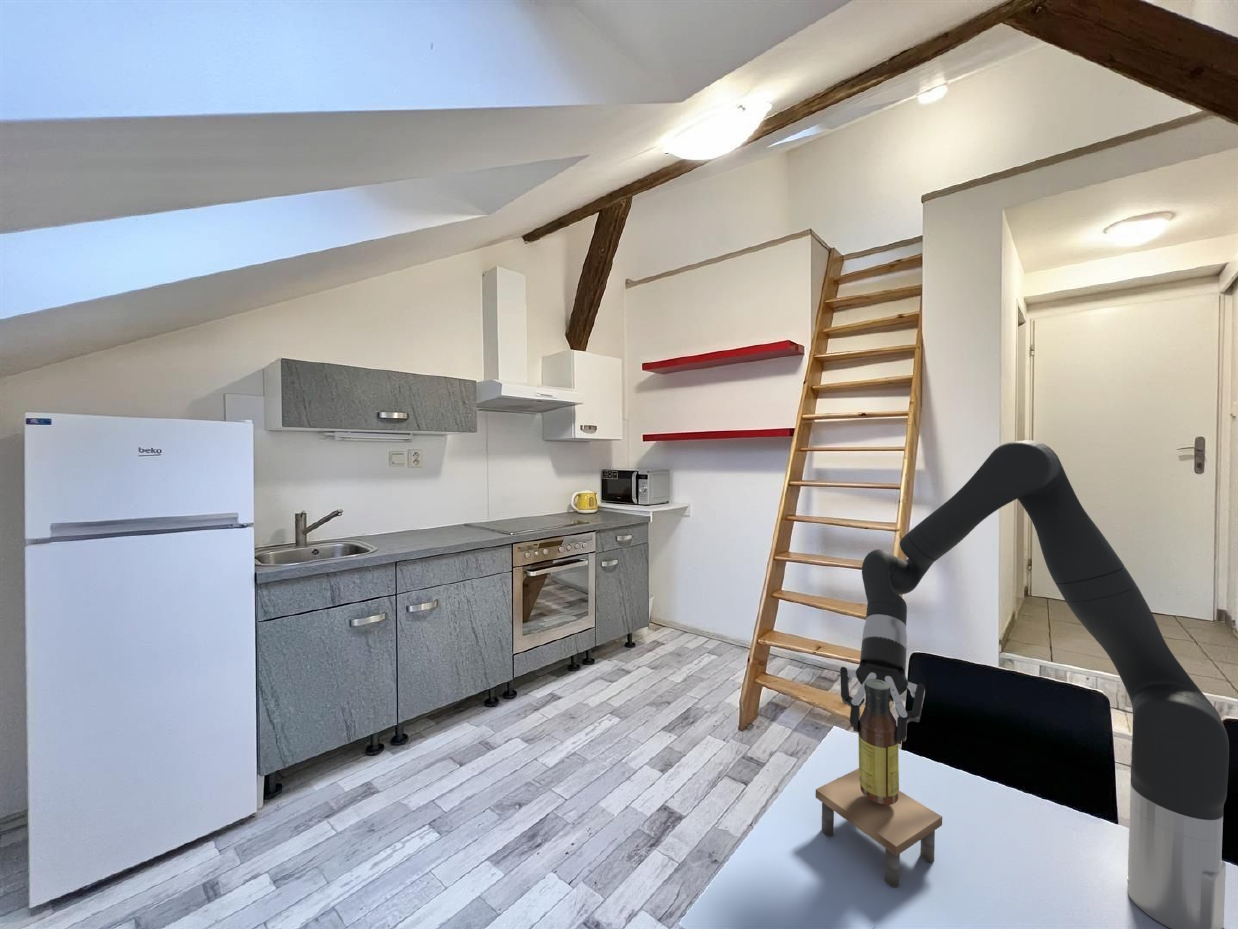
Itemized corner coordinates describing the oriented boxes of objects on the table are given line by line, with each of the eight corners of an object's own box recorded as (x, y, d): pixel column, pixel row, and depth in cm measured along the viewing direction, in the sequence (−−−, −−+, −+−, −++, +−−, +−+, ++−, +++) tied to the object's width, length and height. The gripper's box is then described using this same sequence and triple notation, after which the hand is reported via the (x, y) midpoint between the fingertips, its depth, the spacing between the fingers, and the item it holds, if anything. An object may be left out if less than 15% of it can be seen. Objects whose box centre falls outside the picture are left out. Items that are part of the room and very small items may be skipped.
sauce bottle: (889, 784, 90) (891, 676, 89) (905, 809, 83) (908, 693, 83) (851, 781, 90) (853, 674, 90) (865, 806, 84) (867, 691, 83)
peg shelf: (941, 860, 84) (942, 816, 83) (895, 894, 77) (896, 846, 77) (860, 805, 97) (860, 767, 96) (815, 830, 90) (815, 789, 90)
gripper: (841, 628, 96) (829, 716, 87) (928, 643, 88) (926, 742, 79) (844, 646, 101) (834, 731, 91) (928, 662, 93) (926, 757, 83)
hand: (877, 736), depth 85 cm, fingers closed on sauce bottle, 6 cm apart
